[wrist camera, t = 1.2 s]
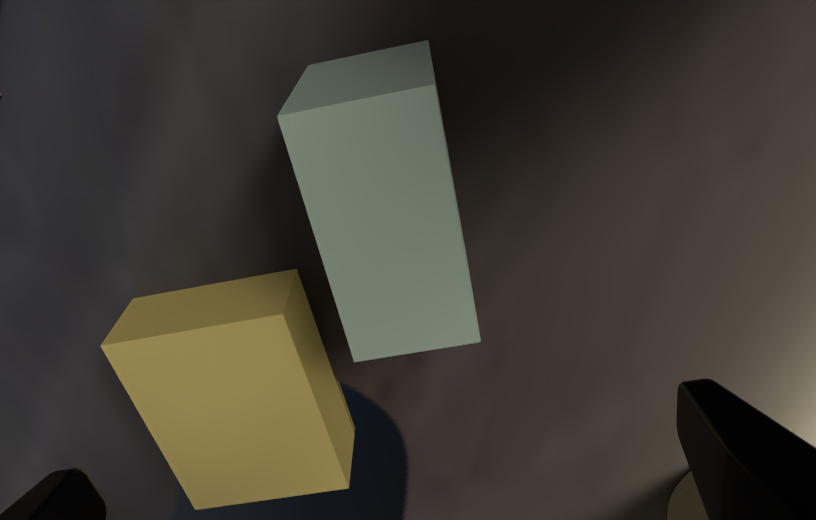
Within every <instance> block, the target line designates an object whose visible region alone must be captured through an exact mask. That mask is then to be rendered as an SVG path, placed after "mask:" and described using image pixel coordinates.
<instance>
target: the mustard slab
mask: <svg viewBox="0 0 816 520" xmlns="http://www.w3.org/2000/svg"><path fill="white" fill-rule="evenodd" d="M100 346H101V348H102V350H103V351H104V353H105V355H106V357H107V358H108V360H109V362H110V363H111V365H112V367H113V369H114V370H115V372H116V374H117V376H118V377H119V379H120V381H121V382H122V384H123V386H124V388H125V389H126V391H127V393H128V395H129V396H130V398H131V400H132V401H133V403H134V405H135V407H136V408H137V410H138V412H139V414H140V415H141V417H142V419H143V420H144V422H145V424H146V426H147V427H148V429H149V431H150V433H151V434H152V436H153V438H154V439H155V441H156V443H157V445H158V446H159V448H160V450H161V452H162V453H163V455H164V457H165V458H166V460H167V462H168V464H169V465H170V467H171V469H172V471H173V472H174V474H175V476H176V477H177V479H178V481H179V483H180V484H181V486H182V488H183V490H184V491H185V493H186V495H187V496H188V498H189V500H190V502H191V503H192V505H193V507H194V508H195V510H199V509H206V508H213V507H221V506H228V505H235V504H241V503H249V502H256V501H263V500H270V499H276V498H283V497H291V496H298V495H305V494H312V493H318V492H326V491H333V490H340V489H347V488H349V482H350V472H351V463H352V453H353V442H354V433H355V427H354V424H353V421H352V418H351V415H350V412H349V409H348V406H347V404H346V401H345V398H344V395H343V392H342V389H341V386H340V383H339V381H337V380H335V377H334V374H333V372H332V369H331V366H330V363H329V360H328V357H327V354H326V351H325V349H324V346H323V343H322V340H321V337H320V334H319V331H318V329H317V326H316V323H315V320H314V317H313V314H312V311H311V308H310V306H309V303H308V300H307V297H306V294H305V291H304V288H303V285H302V283H301V280H300V277H299V274H298V271H297V269H292V270H286V271H281V272H275V273H270V274H264V275H259V276H254V277H248V278H243V279H237V280H232V281H226V282H221V283H215V284H210V285H204V286H199V287H193V288H188V289H182V290H177V291H172V292H166V293H161V294H155V295H150V296H144V297H139V298H133V299H132V301H131V302H130V304H129V305H128V307H127V308H126V309H125V311H124V312H123V314H122V315H121V317H120V318H119V320H118V321H117V322H116V324H115V325H114V327H113V328H112V330H111V331H110V333H109V334H108V335H107V337H106V338H105V340H104V341H103V343H102V344H101V345H100Z"/></svg>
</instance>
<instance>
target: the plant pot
mask: <svg viewBox="0 0 816 520" xmlns="http://www.w3.org/2000/svg"><path fill="white" fill-rule="evenodd" d="M813 447H814V446H813ZM815 448H816V447H815ZM667 520H709V519H708V516H707V513H706V511H705V508H704V505H703V502H702V500H701V497H700V494H699V492H698V489H697V486H696V483H695V481H694V478H693V475H692V472H691V471H690V472H689V473H688V474H687V475H686V476H684V478H683V479H682V480H681V481H680V482H679V484H678V485H677V486H676V488H675V489H674V491H673V493H672V495H671V497H670V500H669V504H668V510H667Z"/></svg>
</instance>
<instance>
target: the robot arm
mask: <svg viewBox="0 0 816 520" xmlns="http://www.w3.org/2000/svg"><path fill="white" fill-rule="evenodd" d="M677 431H678V436H679V440H680V443H681V445H682V448H683V451H684V453H685V456H686V459H687V462H688V464H689V467H690V470H691V472H692V475H693V478H694V481H695V483H696V486H697V489H698V492H699V494H700V497H701V500H702V502H703V505H704V508H705V511H706V513H707V516H708V519H709V520H816V448H815V447H813V446H812V445H810V444H809V443H807V442H806V441H804V440H803V439H801V438H800V437H798V436H797V435H795V434H794V433H792V432H791V431H789V430H788V429H786V428H785V427H783V426H782V425H780V424H779V423H777V422H776V421H774V420H773V419H771V418H770V417H768V416H767V415H765V414H764V413H762V412H760V411H759V410H757V409H756V408H754V407H753V406H751V405H750V404H748V403H747V402H745V401H744V400H742V399H741V398H739V397H738V396H736V395H735V394H733V393H732V392H730V391H729V390H727V389H726V388H724V387H723V386H721V385H720V384H718V383H717V382H715V381H713V380H711V379H698V380H691V381H684V382H682V383H681V384H679V387H678V393H677ZM0 520H106V505H105V502H104V500H103V498H102V497H101V495H100V494H99V492H98V491H97V489H96V488H95V486H94V485H93V483H92V482H91V480H90V479H89V477H88V476H87V474H86V473H85V472H84V471H83V470H81V469H78V468H73V469H66V470H59V471H55V472H52V473H51V474H49V475H48V476H46V477H45V478H44V479H43V480H42V481H40V482H39V483H38V484H37V485H36V486H34V487H33V488H32V489H31V490H30V491H28V492H27V493H26V494H25V495H23V496H22V497H21V498H20V499H19V500H17V501H16V502H15V503H14V504H13V505H11V506H10V507H9V508H8V509H7V510H5V511H4V512H3V513H2V514H0Z"/></svg>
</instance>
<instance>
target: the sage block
mask: <svg viewBox="0 0 816 520" xmlns="http://www.w3.org/2000/svg"><path fill="white" fill-rule="evenodd" d="M277 118H278V121H279V124H280V128H281V131H282V134H283V137H284V140H285V144H286V147H287V150H288V153H289V156H290V159H291V163H292V166H293V169H294V172H295V175H296V179H297V182H298V185H299V188H300V191H301V194H302V198H303V201H304V204H305V207H306V210H307V214H308V217H309V220H310V223H311V226H312V229H313V233H314V236H315V239H316V242H317V245H318V249H319V252H320V255H321V258H322V261H323V265H324V268H325V271H326V274H327V277H328V280H329V284H330V287H331V290H332V293H333V296H334V300H335V303H336V306H337V309H338V312H339V315H340V319H341V322H342V325H343V328H344V331H345V335H346V338H347V341H348V344H349V347H350V350H351V354H352V357H353V360H354V362H359V361H365V360H372V359H378V358H384V357H390V356H397V355H403V354H409V353H415V352H422V351H428V350H434V349H440V348H447V347H453V346H459V345H465V344H472V343H478V342H481V339H480V333H479V327H478V321H477V315H476V309H475V303H474V297H473V291H472V285H471V279H470V273H469V267H468V261H467V255H466V249H465V244H464V238H463V233H462V227H461V221H460V216H459V210H458V205H457V199H456V193H455V188H454V182H453V176H452V171H451V165H450V160H449V154H448V148H447V143H446V137H445V132H444V126H443V120H442V115H441V109H440V103H439V98H438V92H437V87H436V81H435V75H434V70H433V64H432V59H431V53H430V47H429V42H428V40H425V41H421V42H416V43H411V44H406V45H402V46H397V47H392V48H387V49H383V50H378V51H373V52H368V53H363V54H359V55H354V56H349V57H344V58H340V59H335V60H330V61H325V62H321V63H316V64H311V65H308V66H307V68H306V70H305V71H304V73H303V75H302V76H301V78H300V79H299V81H298V83H297V84H296V86H295V88H294V89H293V91H292V92H291V94H290V96H289V97H288V99H287V101H286V102H285V104H284V106H283V107H282V109H281V110H280V112H279V114H278V115H277Z"/></svg>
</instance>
